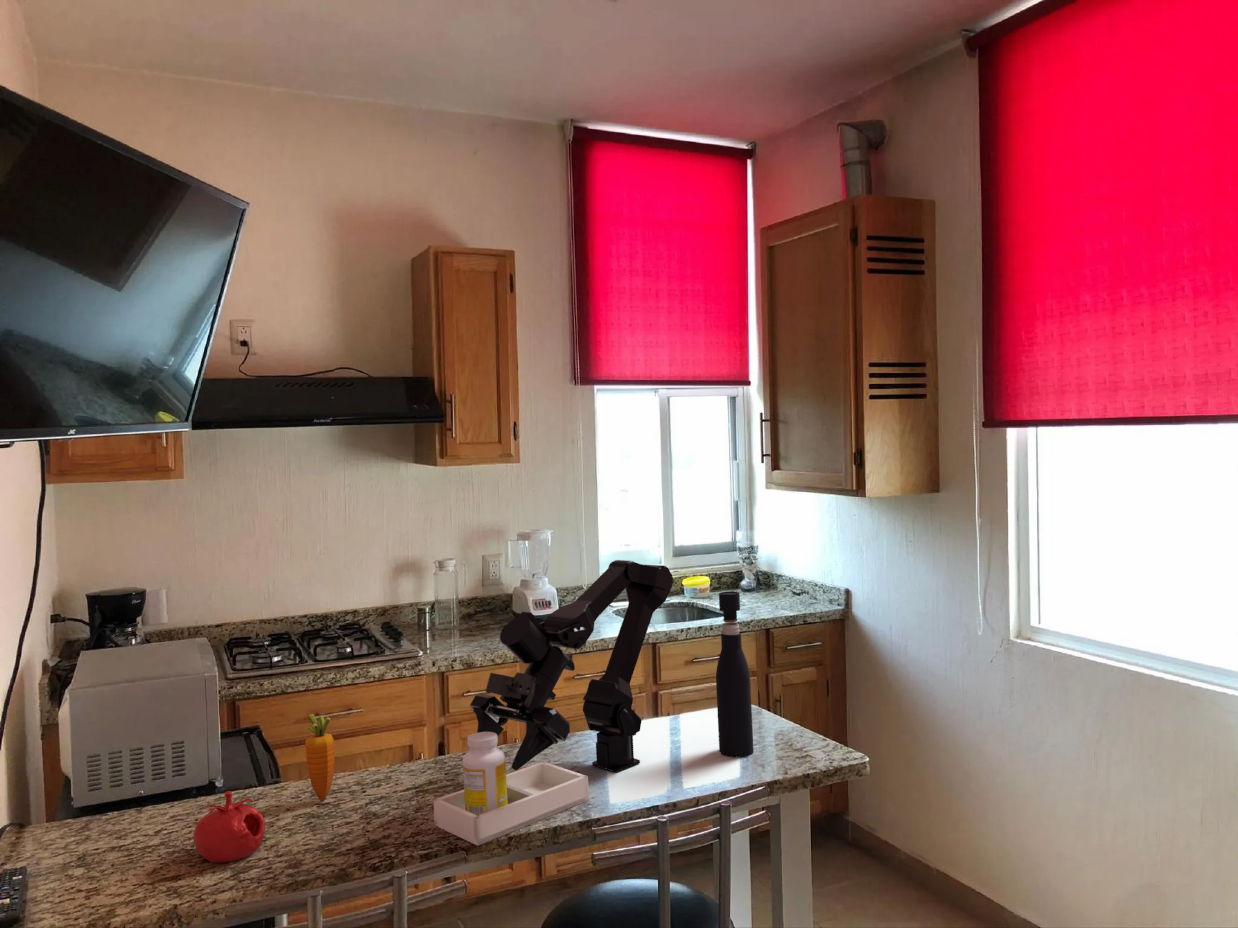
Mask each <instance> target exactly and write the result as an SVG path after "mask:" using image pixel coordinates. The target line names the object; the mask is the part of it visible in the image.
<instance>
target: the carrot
mask: <svg viewBox="0 0 1238 928" xmlns="http://www.w3.org/2000/svg"><path fill="white" fill-rule="evenodd" d="M308 719H309V721H310V722H311V724H312V725H309V726H308V727H307V729H309V730H310V731H311V732H312V733H313V734H312V735H310V736H308V737H307V738H306V739H305V742H304V748H305V749H304V750H305V757H306V758H305V760H306V767H307V773H308V777H309V779H310V780H309V781H310V784H311V786H312V790H313V791H314V794H315V795H316V797H317V798H318V800H319V801H321V802H324V801H326V799H327V797H328V796H329V792H330V791H331V788H332V784H333V779H334V773H335V761H336V760H335V759H336V756H335V755H336V753H335V750H336V749H335V748H336V747H335V739H334V737H333V735H332V734H330V733H326V730H327V727H328V725H329V723H330V721H331V718H330V717H326V718H324V716H323V715H319V716H318V720H317V718H316V717H315V715H314V713H310V714H309V715H308ZM318 721H319V722H318Z"/></svg>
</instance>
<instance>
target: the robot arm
mask: <svg viewBox="0 0 1238 928" xmlns="http://www.w3.org/2000/svg"><path fill="white" fill-rule="evenodd" d="M673 584H674V578H673V574H672V573H671V570H670V569H669V567H668V566H666V565H661V564H660V565H657V564H644V563H643V564H642V563H639V562H635V561H634V560H624V559H623V560H622V559H615V560H613V561H612V562H610V564H608V568H607V569H606V570H605V571H604V572H603V573H601V575H600V576H599V577H598V578H597V579H596V580H595V581H594V582H593V583H592V584H591V585H590V586H588V588H587V589H586V590H585V591H584V592H582V594H581V595H580V596H578V598H577V599H575V600H574V601H573V602H571V603H569V604H565V605H563V606H560V607H558V608H557V609H556V610H554V611H552V612H551V613H550V614H549V615H547V617H546V618H544V620H543V621H541V622H540V621H538V620H537V618H536V616H535V615H534V614H533V613H532V612H530V611H521V613H520V614H519V616H516V617H515V618H513V619H512V620H510V621H508V623H507V624H505V625H504V626H503V628H502V629H501V631H500V635H499V639H500V640H499V641H500V642H501V644H502V645H504V646H505V647H506V649H507V650H509V652H511V653H512V654H513V655H514V656H515V657H516V659H517V660H519V661H520V662H521V663H523V664H524V665H525V664H526V665H527V667H526V668H525V670H524V671H523V673H521V672H516V673H515V674H514V676H510V675H505V674H501V673H493V672H490V673H489V676H488V681H487V685H486V688H485V693H488V694H485V693H479V694H475V696H474V697H473V698H472V699H473V700H471V702H470V704H469V707H470V708H471V709H472V712H473V714H474V715H475V716H476V720H477V731H476V733H478V732H494V733H496V734H497V737H498V738H499V737H500V734H502V733H503V731H504V727H502V726H505V724H507V723H508V721H509V720H510V721H515V722H519V723H524V724H526V725H525V736H524V737H523V739H522V742H521V744H520V746H519V748H518V750H517V752H516V754H515V757H514V758H513V761H512V764H511V767H510V768H511V769H512V770H514V772H515V771H518V770H520V769H522V767H523V766H524V765H526V764H527V763H529V762H530V761H531V760H532V759H534V758H535V757H536V756H538V755H540V753H542V752H544V751H546V749H549V747H551V746H553V745H557V744H559V741H562V742H565V741H566V740H567V738H568V735H569V734H570V731H571V727H570V726H571V725H570V722H569V721H568V720H567V719H566V718H565V717H564V716H563V715H562V714H561V713H560V712H559V711H558V710H557V709H556V708H552V707H548V706H546V705H547V702H548V700H551V701H554V700H555V699H556V696H557V695H556V693H555V692H554V689H555V687H556V686H557V684H558V682H559V680H560V678H561V675H562V673H563V672H564V670H566V671H575V669H576V668H575V667H576V665H575V662H574V661H573V655H572V654H571V653H565V652H564V651H563V650H562V649H561V648H566V649H574V650H576V649H577V650H579V649H581V648H582V647H583V646H584V645H585V644H586V643H587V642H588V640H589V638H590V637H591V635H592V634H593V633H594V630H595V623H596V620H597V619H598V618H599V616H600V615H601V614H603V612H605V611H606V609H607V608H608V607H609V606H610V605H612V603H613V602H614V601H615V600H616V599H617V598H618V597H619V596H620V594H621V593H623V591H624V590H625V592H626V597H627V601H628V604H627V608H626V611H625V613H624V617H623V620H622V622H621V626H620V628H619V631H618V634H617V638H616V640H615V643H614V644H613V645H614V646H613V648H612V652H611V653H610V657H609V660H608V663H607V666H606V668H605V671H604V674H603V675H602V676H601V677H600V678H599V679H595V678H591V679H590V681H589V682H588V686H587V690H586V693H585V695H584V696H583V697H582V700H583V704H582V712H583V714H584V718H585V720H586V721H585V722H586V723H587V726H588V727H587V728H588V730H589V731H590V732H591V731H593V732H596V742H595V753H596V756H595V757H596V760H594V761H592V763H591V764H592V766H595V767H598V768H601V769H604V770H608V771H610V772H613V773H618V772H621V771H622V770H625V769H628V768H630V767H633V766H635V765H637V764H640V763H641V760H640V759H638V758H635V753H634V737H635V736H636V735H637V733H639V732H640V731H641V726H642V718H641V717H640V716H639V715H638V714H637V713H636V712H635V711H634V710H633V709H632V706H633V702H634V697H633V694H632V693H633V692H632V689H631V688H632V687H631V681H632V678H633V675H634V672H635V668H636V665H637V663H638V659H639V656H640V653H641V651H642V648H643V646H644V645H643V644H644V642H645V638H646V637H647V632H648V629H649V626H650V623H651V621H652V618H653V614H654V612H655V611H657V609H659V608H660V607H661V606H662V605H663V604H664V603H665V602H666V600H667V598H668V596H669V594H670V592H671V590H672V587H673ZM490 693H492V694H496V695H498V696H500V697H499V699H500V700H501V701H502V702H501V701H500V700H499V699H498V698H497V697H496V696H494V695H489V694H490ZM504 703H506V705H504Z"/></svg>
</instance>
